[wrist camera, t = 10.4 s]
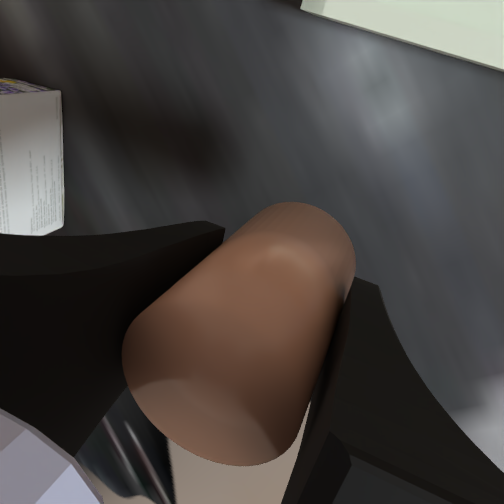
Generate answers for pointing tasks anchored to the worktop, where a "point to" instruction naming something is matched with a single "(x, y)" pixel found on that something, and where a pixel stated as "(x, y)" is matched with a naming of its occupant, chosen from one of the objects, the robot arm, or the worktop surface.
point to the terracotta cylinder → (243, 337)
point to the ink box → (30, 159)
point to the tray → (427, 24)
